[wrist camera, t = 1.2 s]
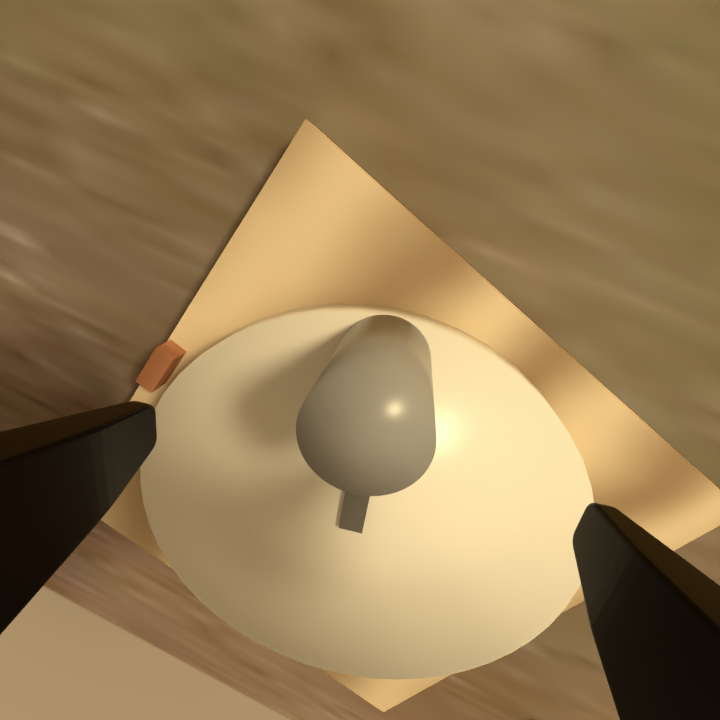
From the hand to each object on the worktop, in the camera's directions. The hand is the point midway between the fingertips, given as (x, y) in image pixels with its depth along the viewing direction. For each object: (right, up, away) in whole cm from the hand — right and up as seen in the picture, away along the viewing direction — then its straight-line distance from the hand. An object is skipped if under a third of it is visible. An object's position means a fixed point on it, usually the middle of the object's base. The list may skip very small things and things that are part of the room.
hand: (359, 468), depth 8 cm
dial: (0, -5, +10) cm, 11 cm away
